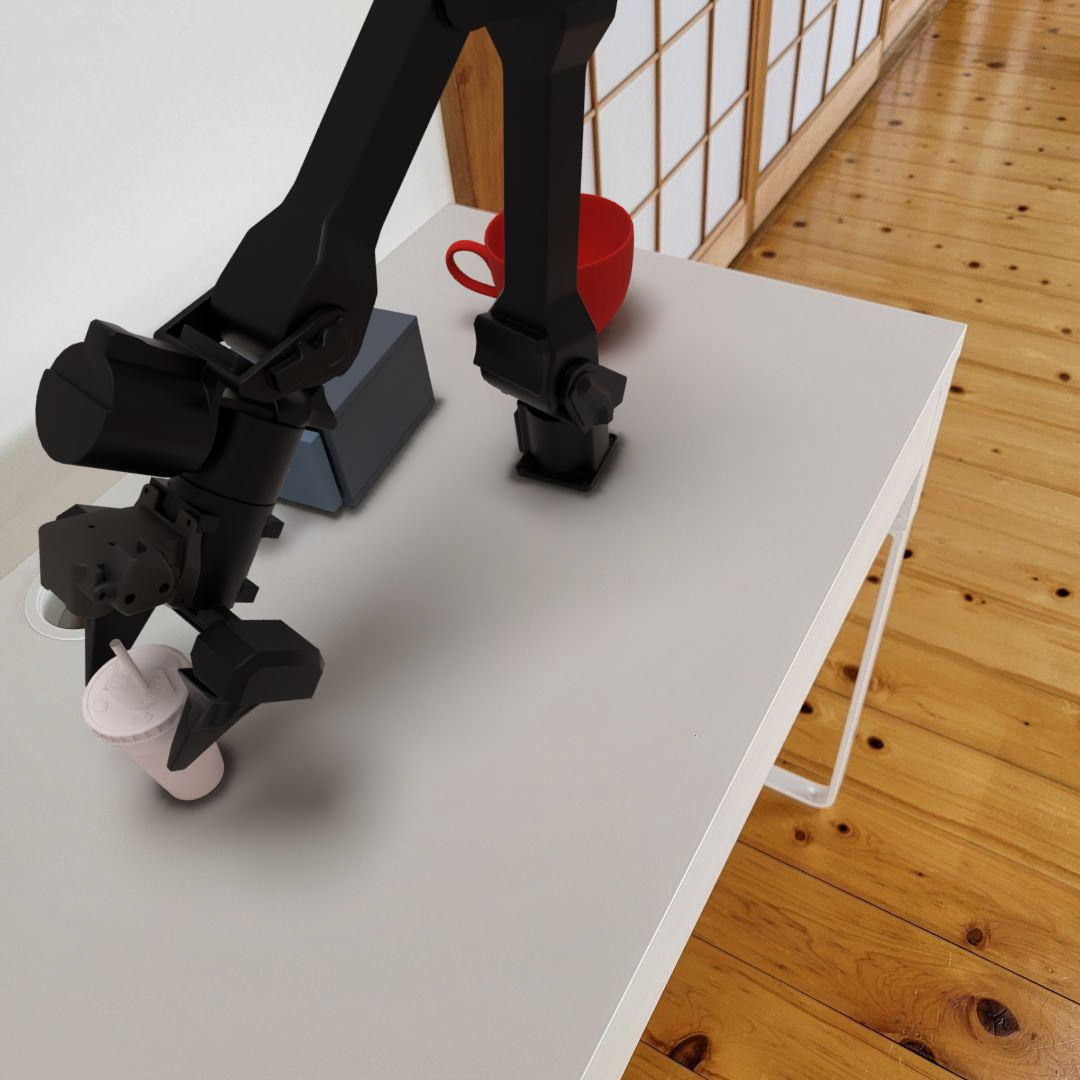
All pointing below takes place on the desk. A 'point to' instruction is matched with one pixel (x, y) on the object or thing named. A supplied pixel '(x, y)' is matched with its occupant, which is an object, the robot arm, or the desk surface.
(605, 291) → the ceramic cup
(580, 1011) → the desk surface
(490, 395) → the desk surface
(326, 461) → the drawer
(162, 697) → the smoothie
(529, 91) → the robot arm
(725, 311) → the desk surface
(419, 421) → the dispenser
